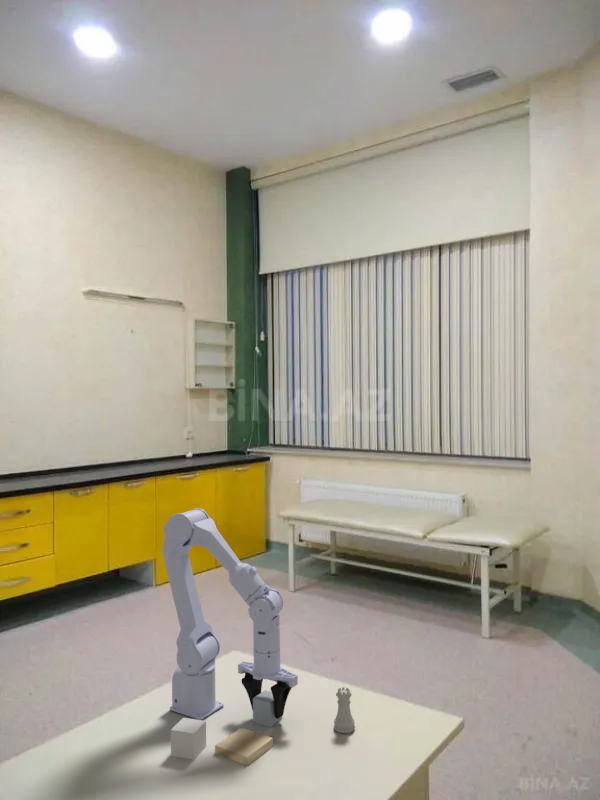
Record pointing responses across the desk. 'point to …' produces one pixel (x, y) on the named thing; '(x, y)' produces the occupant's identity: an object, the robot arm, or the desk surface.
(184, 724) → the grey cube
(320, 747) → the desk surface
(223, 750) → the maple block
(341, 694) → the rook chess piece
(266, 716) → the slate block
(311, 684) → the desk surface
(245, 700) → the desk surface
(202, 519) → the robot arm
